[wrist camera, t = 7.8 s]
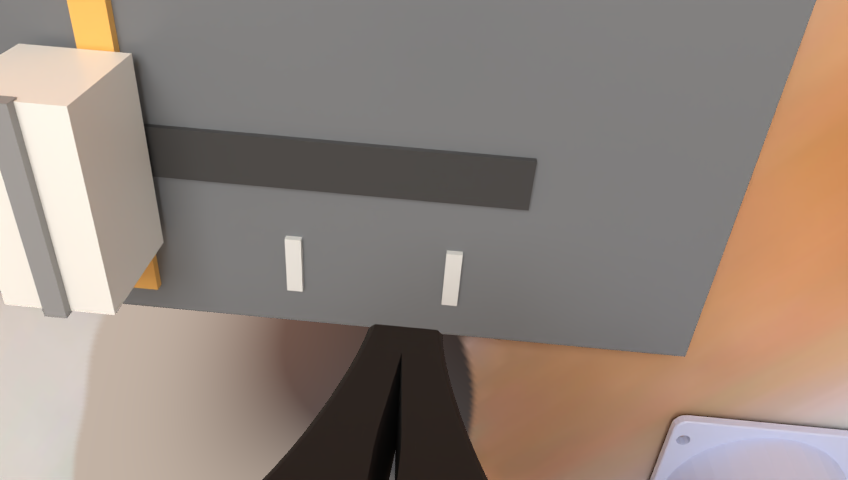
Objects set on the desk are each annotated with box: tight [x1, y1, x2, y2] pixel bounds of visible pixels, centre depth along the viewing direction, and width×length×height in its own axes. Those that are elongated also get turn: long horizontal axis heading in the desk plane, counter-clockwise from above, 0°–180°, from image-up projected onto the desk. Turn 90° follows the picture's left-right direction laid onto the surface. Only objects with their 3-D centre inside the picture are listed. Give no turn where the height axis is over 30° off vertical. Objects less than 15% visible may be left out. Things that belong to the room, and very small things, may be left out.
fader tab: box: [0, 44, 163, 318], centre depth 19 cm, size 6×3×4 cm, turn 176°
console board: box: [0, 0, 816, 357], centre depth 21 cm, size 12×28×2 cm, turn 86°
